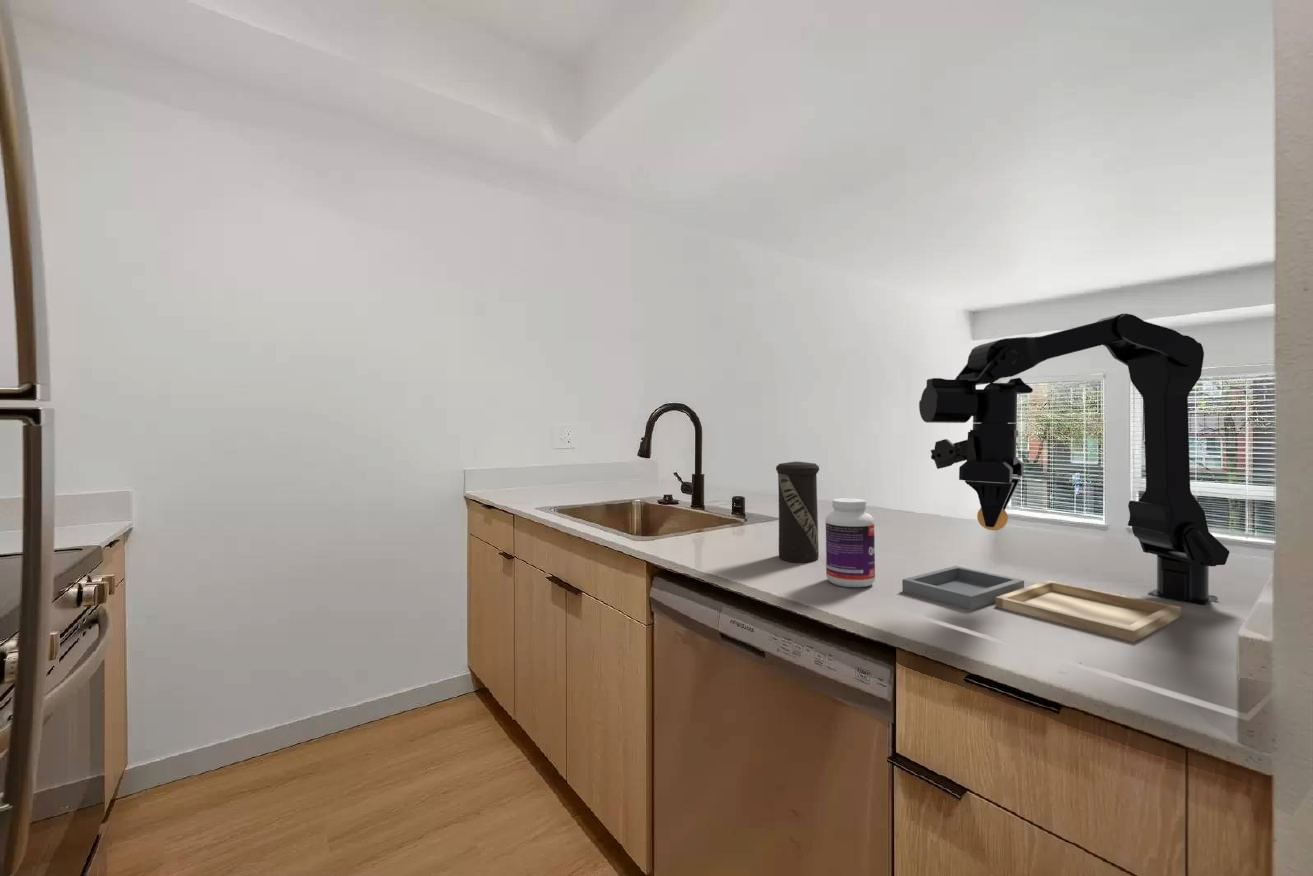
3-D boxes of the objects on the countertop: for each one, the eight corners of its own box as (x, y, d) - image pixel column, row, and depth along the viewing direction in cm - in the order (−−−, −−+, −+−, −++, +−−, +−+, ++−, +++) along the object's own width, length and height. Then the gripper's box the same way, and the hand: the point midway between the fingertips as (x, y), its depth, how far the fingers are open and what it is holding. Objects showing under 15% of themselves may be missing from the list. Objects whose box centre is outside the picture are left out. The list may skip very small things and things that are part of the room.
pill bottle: (879, 590, 90) (878, 503, 90) (828, 588, 92) (827, 502, 92) (870, 577, 98) (869, 497, 98) (823, 575, 100) (823, 496, 99)
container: (778, 562, 110) (777, 463, 109) (775, 552, 119) (774, 460, 118) (822, 563, 108) (821, 462, 108) (817, 553, 117) (816, 460, 117)
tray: (955, 579, 96) (955, 565, 96) (1024, 595, 86) (1024, 580, 86) (902, 594, 88) (902, 579, 88) (971, 613, 79) (971, 596, 79)
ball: (1008, 530, 84) (1009, 504, 84) (1005, 533, 81) (1006, 506, 81) (979, 526, 87) (979, 501, 87) (974, 530, 84) (975, 504, 84)
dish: (1048, 591, 88) (1048, 580, 88) (1180, 620, 75) (1180, 606, 75) (995, 609, 80) (995, 597, 80) (1133, 645, 66) (1133, 631, 66)
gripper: (948, 424, 96) (947, 512, 96) (921, 422, 81) (919, 526, 82) (1024, 424, 89) (1022, 519, 89) (1010, 422, 74) (1007, 536, 75)
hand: (992, 525), depth 84 cm, fingers closed on ball, 4 cm apart
